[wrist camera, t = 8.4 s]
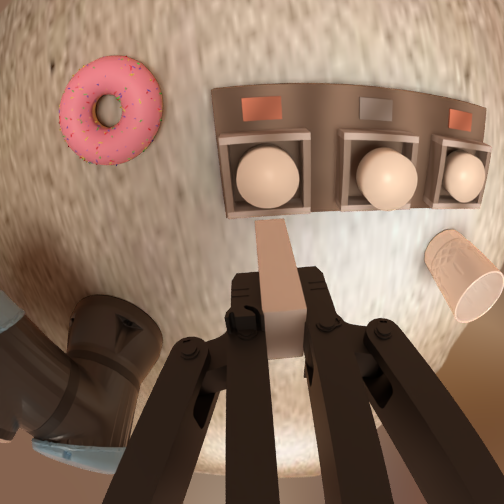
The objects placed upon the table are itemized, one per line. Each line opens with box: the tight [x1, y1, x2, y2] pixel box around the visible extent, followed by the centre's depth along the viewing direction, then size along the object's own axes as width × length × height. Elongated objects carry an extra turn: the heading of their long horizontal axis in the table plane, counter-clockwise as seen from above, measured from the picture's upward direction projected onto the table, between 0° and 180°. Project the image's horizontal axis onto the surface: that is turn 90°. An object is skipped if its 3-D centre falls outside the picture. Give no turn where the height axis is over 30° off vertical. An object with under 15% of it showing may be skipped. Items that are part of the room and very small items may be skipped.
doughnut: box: [59, 56, 163, 166], centre depth 23 cm, size 11×11×4 cm
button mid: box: [356, 147, 417, 211], centre depth 22 cm, size 5×5×2 cm
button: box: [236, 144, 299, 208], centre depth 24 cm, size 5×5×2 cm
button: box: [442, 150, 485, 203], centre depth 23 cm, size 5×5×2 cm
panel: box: [211, 83, 492, 219], centre depth 25 cm, size 28×12×5 cm, turn 94°
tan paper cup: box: [425, 230, 504, 323], centre depth 30 cm, size 8×8×10 cm
